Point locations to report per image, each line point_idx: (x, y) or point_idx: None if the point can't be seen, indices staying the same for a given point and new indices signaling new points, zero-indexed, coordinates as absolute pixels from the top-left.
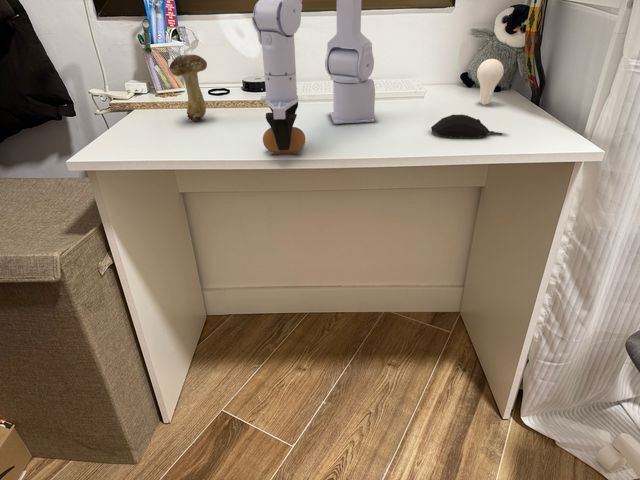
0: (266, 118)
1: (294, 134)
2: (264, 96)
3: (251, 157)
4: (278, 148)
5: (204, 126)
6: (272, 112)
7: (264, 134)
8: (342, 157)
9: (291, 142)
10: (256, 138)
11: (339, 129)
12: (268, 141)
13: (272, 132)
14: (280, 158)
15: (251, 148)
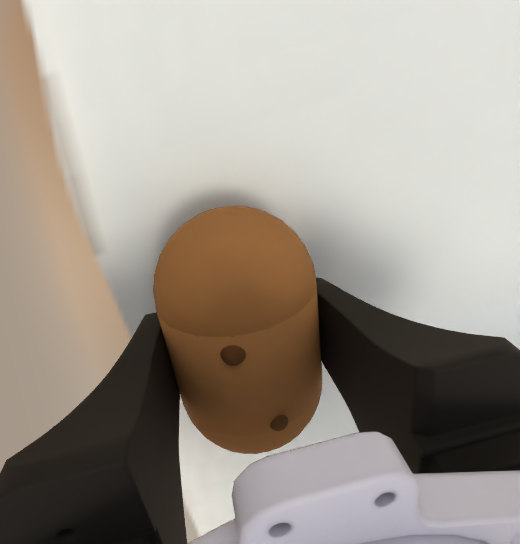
0: (3, 478)
1: (206, 435)
2: (394, 512)
3: (116, 129)
4: (142, 320)
5: None
6: (387, 355)
7: (209, 252)
8: (199, 502)
9: (180, 394)
10: (450, 66)
11: None
12: (157, 278)
13: (193, 327)
14: (139, 298)
15: (273, 82)
